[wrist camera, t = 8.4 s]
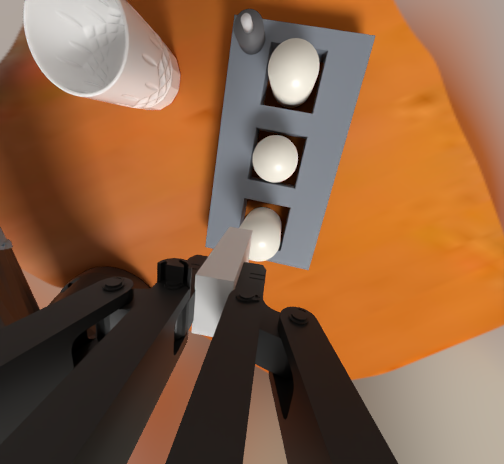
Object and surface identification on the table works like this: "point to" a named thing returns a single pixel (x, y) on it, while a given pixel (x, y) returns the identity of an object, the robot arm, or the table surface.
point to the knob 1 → (263, 233)
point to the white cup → (101, 52)
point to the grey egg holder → (284, 130)
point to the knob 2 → (293, 72)
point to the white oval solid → (275, 158)
